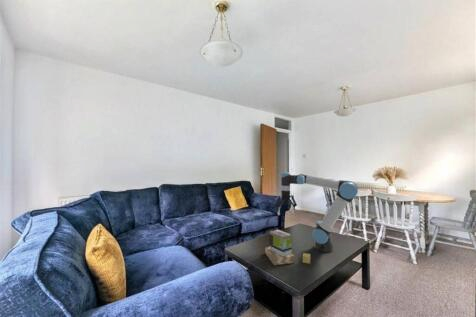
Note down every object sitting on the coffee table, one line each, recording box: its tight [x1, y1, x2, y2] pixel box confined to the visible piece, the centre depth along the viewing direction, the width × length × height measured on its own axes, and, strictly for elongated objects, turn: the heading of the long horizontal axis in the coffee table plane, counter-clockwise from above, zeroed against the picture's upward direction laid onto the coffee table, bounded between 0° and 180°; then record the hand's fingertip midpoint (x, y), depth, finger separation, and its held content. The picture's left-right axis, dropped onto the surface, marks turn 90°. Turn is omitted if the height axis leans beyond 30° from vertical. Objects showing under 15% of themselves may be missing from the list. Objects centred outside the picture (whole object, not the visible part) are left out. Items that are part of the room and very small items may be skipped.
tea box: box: [268, 229, 293, 257], centre depth 160 cm, size 15×10×15 cm
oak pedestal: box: [264, 246, 296, 266], centre depth 161 cm, size 16×19×5 cm
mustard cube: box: [302, 252, 311, 265], centre depth 155 cm, size 5×5×5 cm
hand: (285, 214), depth 180 cm, fingers open, 13 cm apart
